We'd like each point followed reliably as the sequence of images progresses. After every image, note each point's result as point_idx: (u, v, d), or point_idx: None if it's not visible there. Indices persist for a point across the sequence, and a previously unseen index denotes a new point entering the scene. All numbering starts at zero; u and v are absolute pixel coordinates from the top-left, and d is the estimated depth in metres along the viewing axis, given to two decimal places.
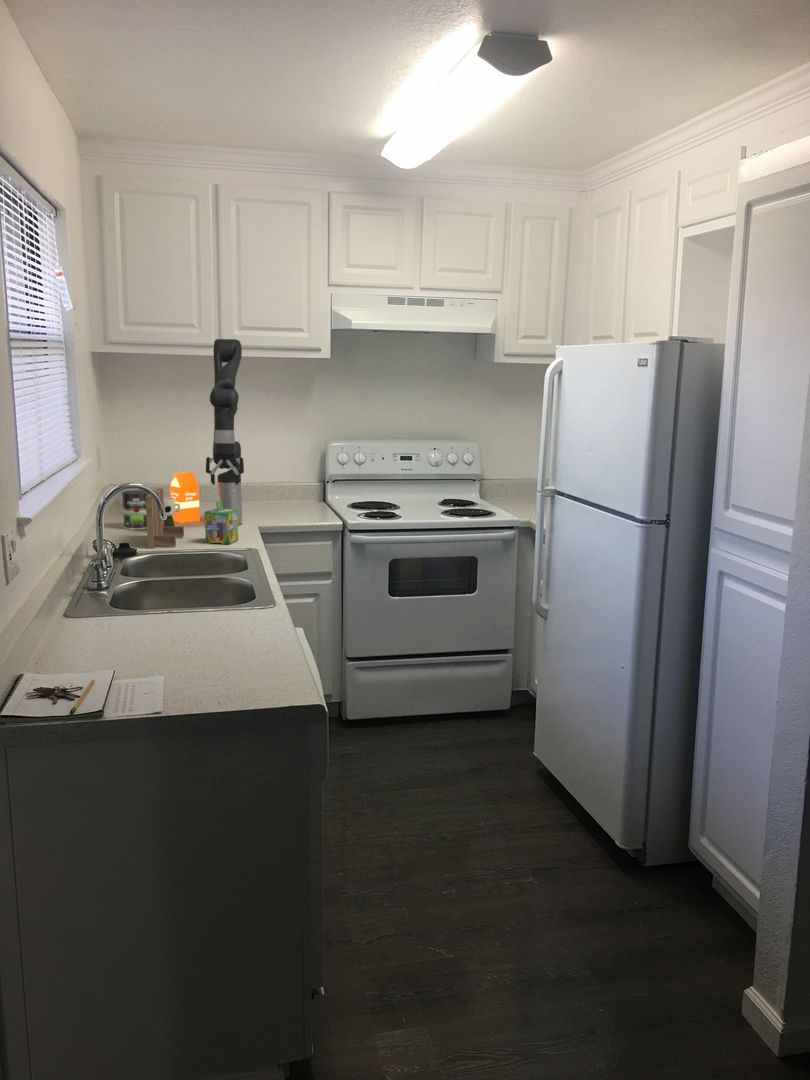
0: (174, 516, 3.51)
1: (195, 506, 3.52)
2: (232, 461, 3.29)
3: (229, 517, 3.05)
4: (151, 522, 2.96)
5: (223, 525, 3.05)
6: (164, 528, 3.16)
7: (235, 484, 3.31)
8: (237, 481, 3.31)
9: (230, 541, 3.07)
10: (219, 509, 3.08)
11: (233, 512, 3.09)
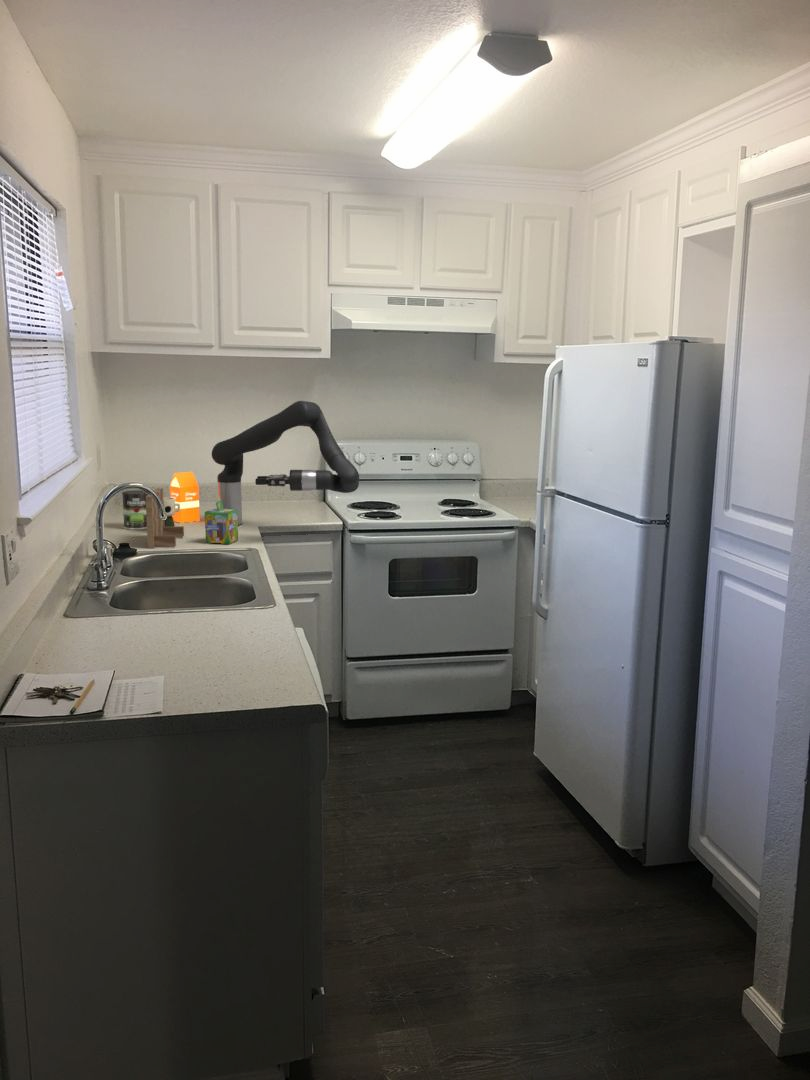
0: (174, 516, 3.51)
1: (195, 506, 3.52)
2: None
3: (229, 517, 3.05)
4: (151, 522, 2.96)
5: (224, 525, 3.05)
6: (164, 528, 3.16)
7: None
8: None
9: (230, 541, 3.07)
10: (219, 509, 3.08)
11: (233, 512, 3.09)
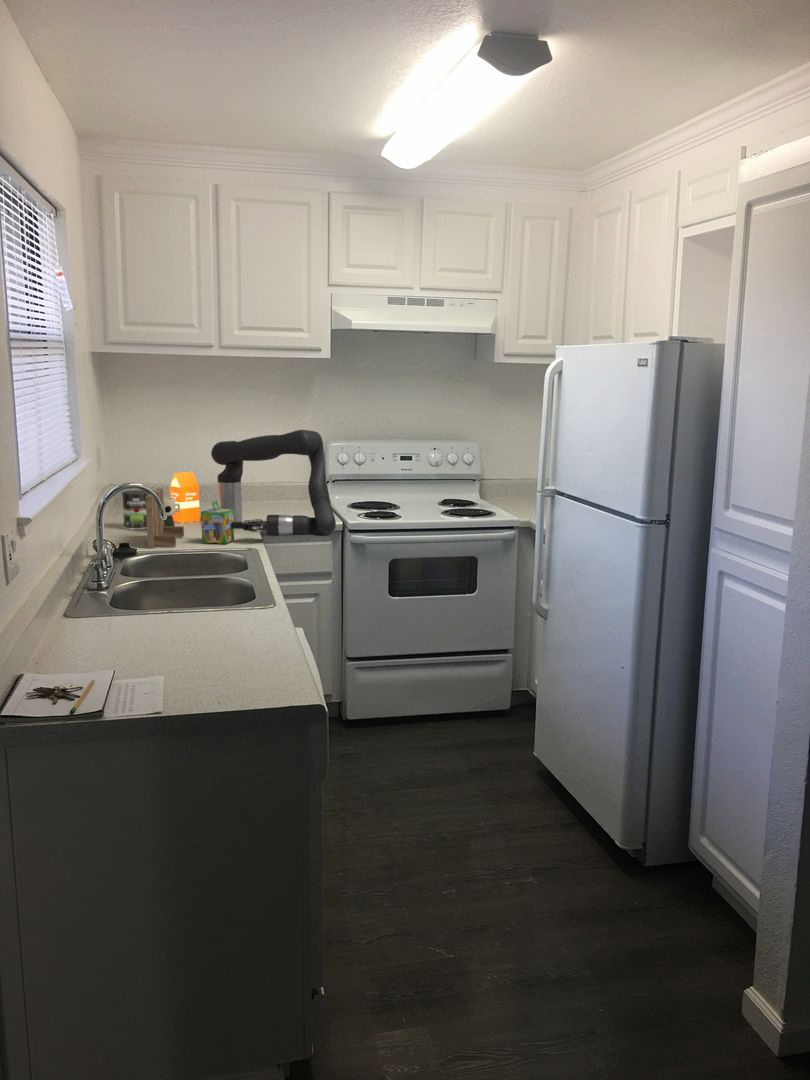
0: (174, 516, 3.51)
1: (195, 506, 3.52)
2: None
3: (225, 517, 3.05)
4: (151, 522, 2.96)
5: (220, 525, 3.05)
6: (164, 528, 3.16)
7: (231, 527, 3.11)
8: None
9: (227, 541, 3.07)
10: (215, 509, 3.08)
11: (230, 512, 3.09)
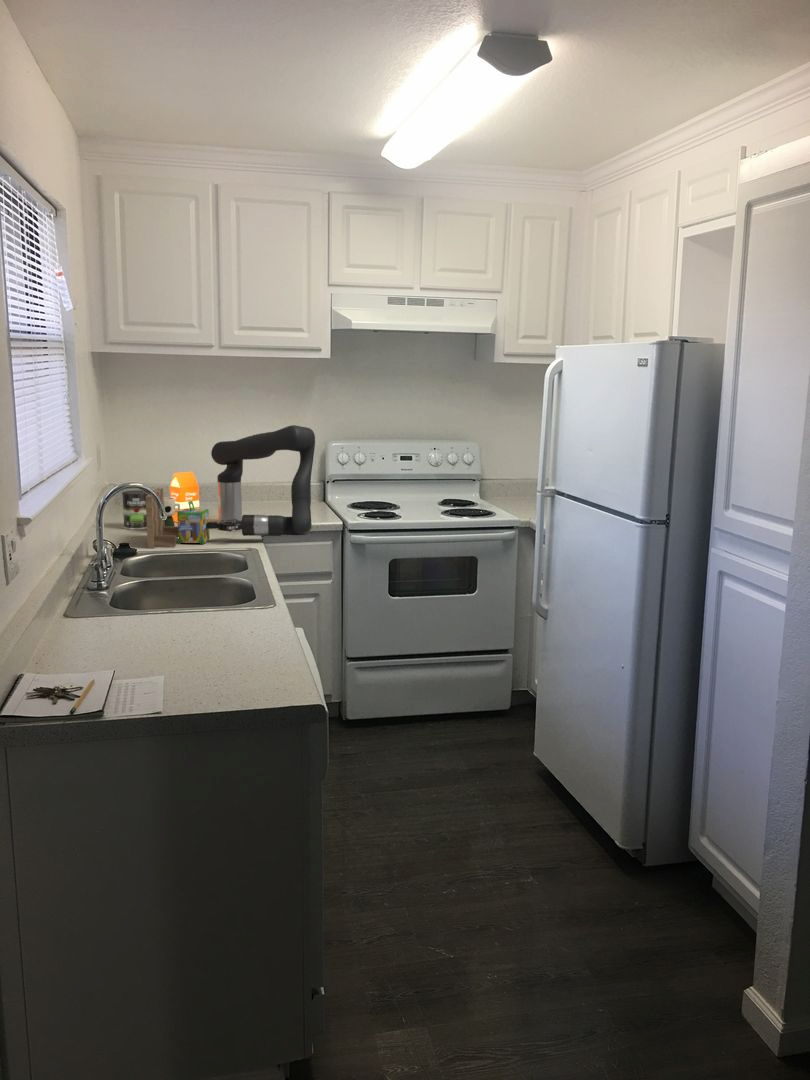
0: (174, 516, 3.51)
1: (195, 506, 3.52)
2: None
3: (202, 516, 3.05)
4: (151, 522, 2.96)
5: (197, 525, 3.04)
6: (164, 528, 3.16)
7: (207, 527, 3.10)
8: None
9: (204, 541, 3.06)
10: (191, 509, 3.07)
11: (206, 512, 3.09)
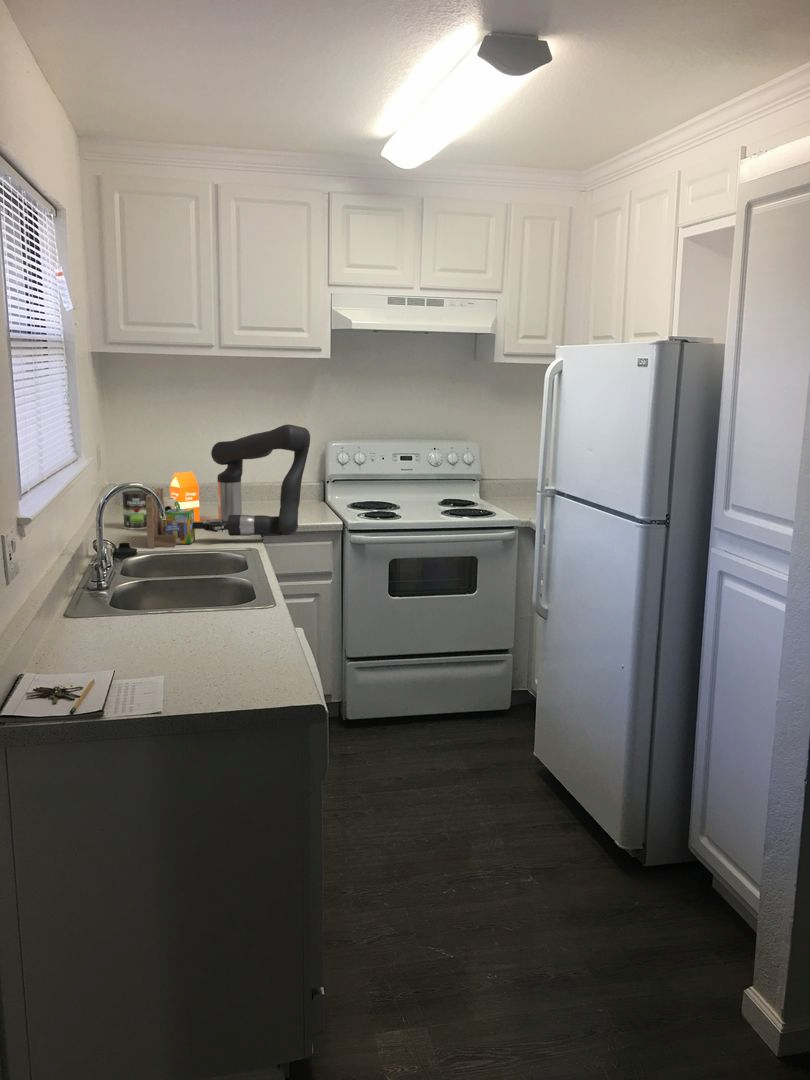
0: None
1: (195, 506, 3.52)
2: None
3: (189, 517, 3.04)
4: (151, 522, 2.96)
5: (185, 525, 3.04)
6: (164, 528, 3.16)
7: (193, 528, 3.09)
8: None
9: (191, 541, 3.06)
10: (178, 509, 3.06)
11: (192, 512, 3.08)
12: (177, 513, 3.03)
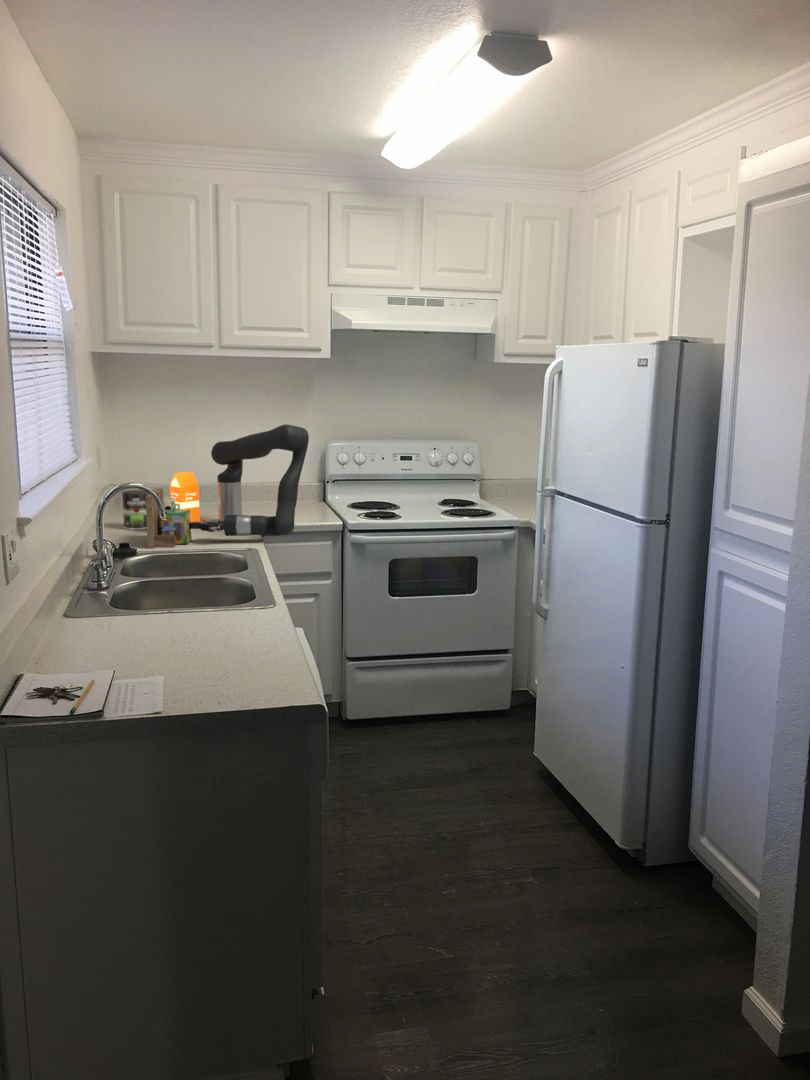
0: None
1: (195, 506, 3.52)
2: None
3: (186, 517, 3.04)
4: (151, 522, 2.96)
5: (181, 525, 3.04)
6: None
7: None
8: None
9: (188, 541, 3.06)
10: (174, 509, 3.06)
11: (188, 512, 3.08)
12: (174, 513, 3.03)
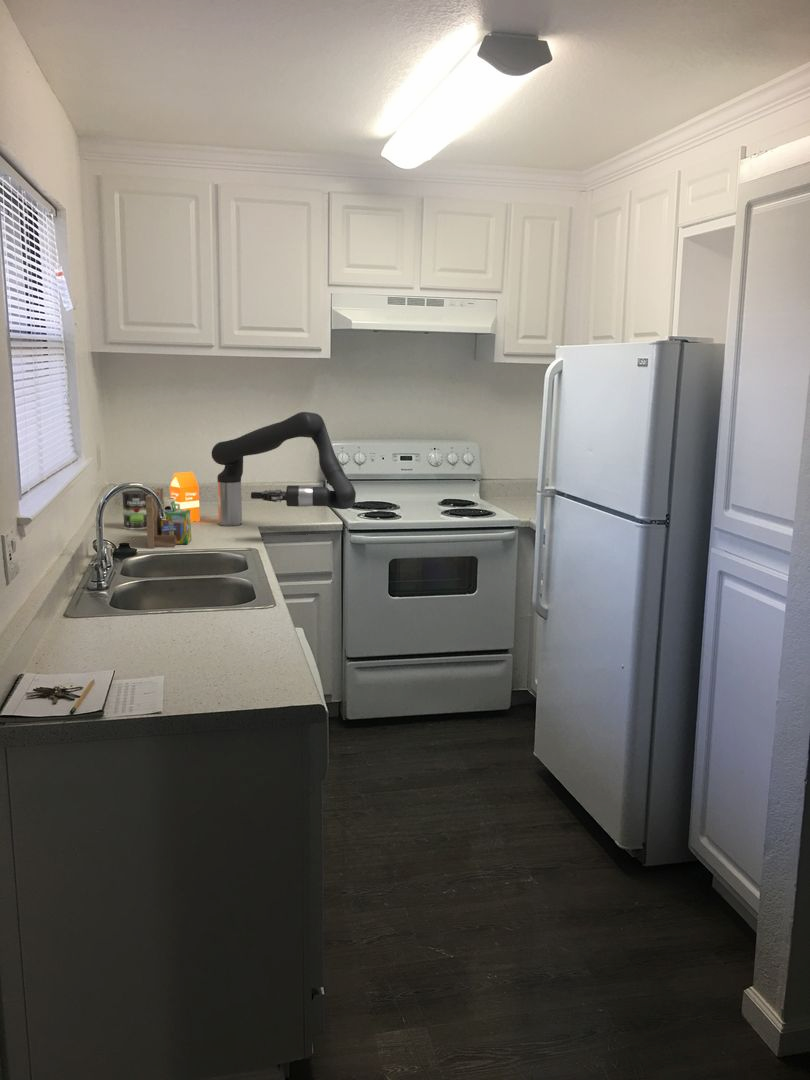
0: None
1: (195, 506, 3.52)
2: None
3: (186, 517, 3.04)
4: (151, 522, 2.96)
5: (181, 525, 3.04)
6: None
7: (251, 497, 3.09)
8: None
9: (187, 541, 3.06)
10: (174, 509, 3.06)
11: (188, 512, 3.08)
12: (174, 513, 3.03)
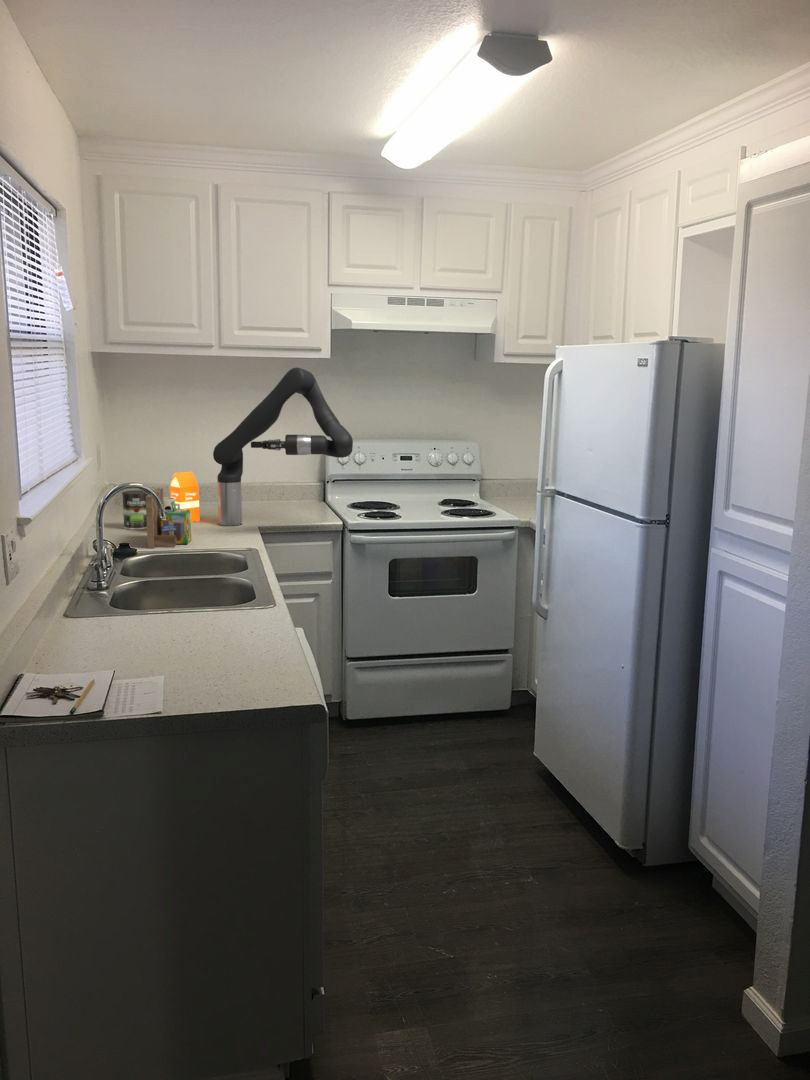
0: None
1: (195, 506, 3.52)
2: None
3: (186, 517, 3.04)
4: (151, 522, 2.96)
5: (181, 525, 3.04)
6: None
7: (251, 447, 3.18)
8: None
9: (187, 541, 3.06)
10: (174, 509, 3.06)
11: (188, 512, 3.08)
12: (174, 513, 3.03)
